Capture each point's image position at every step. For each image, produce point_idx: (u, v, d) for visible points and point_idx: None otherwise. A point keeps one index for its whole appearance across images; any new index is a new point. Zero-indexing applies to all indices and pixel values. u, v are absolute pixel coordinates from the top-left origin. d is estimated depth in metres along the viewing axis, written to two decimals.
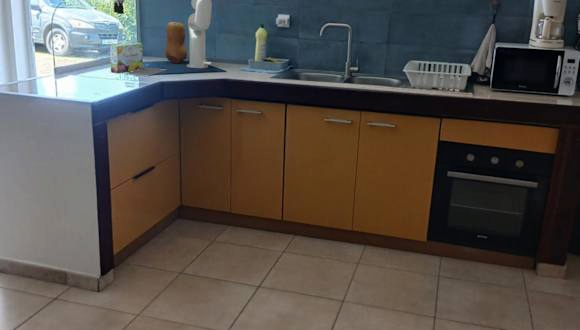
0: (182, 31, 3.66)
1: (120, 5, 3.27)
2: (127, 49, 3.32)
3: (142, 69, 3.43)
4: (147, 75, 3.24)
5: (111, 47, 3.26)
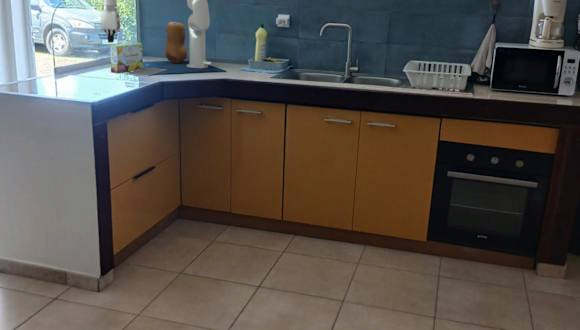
0: (182, 31, 3.66)
1: (113, 35, 3.35)
2: (127, 49, 3.32)
3: (142, 69, 3.43)
4: (147, 75, 3.24)
5: (111, 47, 3.26)
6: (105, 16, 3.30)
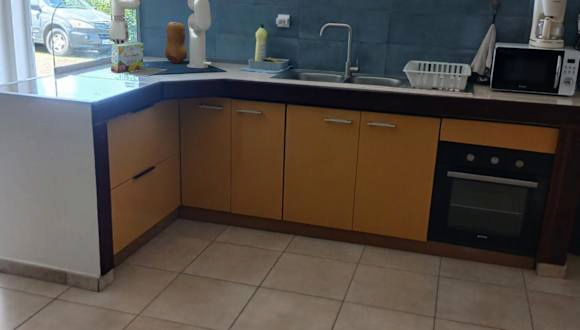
0: (182, 31, 3.66)
1: None
2: (128, 49, 3.32)
3: (142, 69, 3.43)
4: (147, 75, 3.24)
5: (113, 47, 3.26)
6: (113, 26, 3.31)
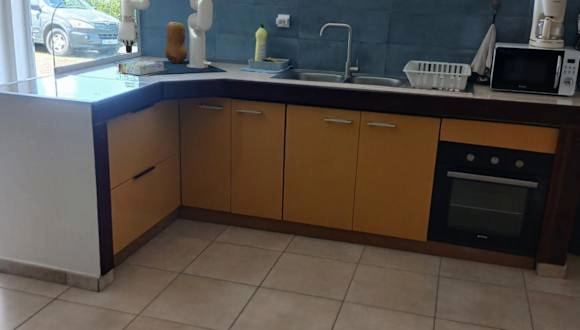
0: (182, 31, 3.66)
1: (131, 45, 3.34)
2: None
3: None
4: (147, 75, 3.24)
5: (138, 67, 3.22)
6: (123, 27, 3.29)
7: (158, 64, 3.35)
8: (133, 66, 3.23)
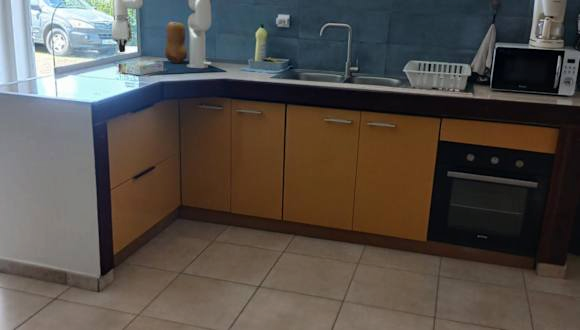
0: (182, 31, 3.66)
1: (124, 45, 3.35)
2: None
3: None
4: (147, 75, 3.24)
5: (138, 67, 3.22)
6: (116, 26, 3.30)
7: (158, 64, 3.35)
8: (133, 66, 3.23)
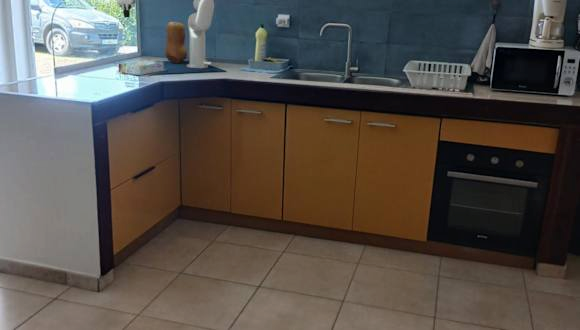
0: (182, 31, 3.66)
1: (128, 10, 3.33)
2: None
3: None
4: (147, 75, 3.24)
5: (138, 67, 3.22)
6: None
7: (158, 64, 3.35)
8: (133, 66, 3.23)
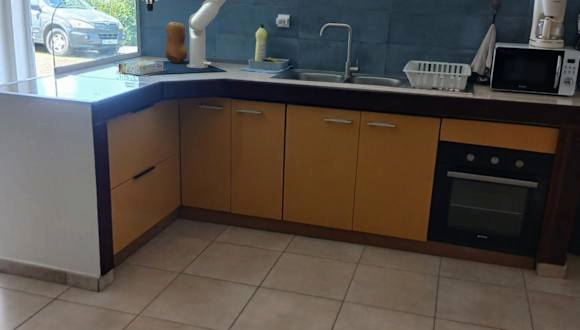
0: (182, 31, 3.66)
1: (152, 4, 3.45)
2: None
3: None
4: (147, 75, 3.24)
5: (138, 67, 3.22)
6: None
7: (158, 64, 3.35)
8: (133, 66, 3.23)
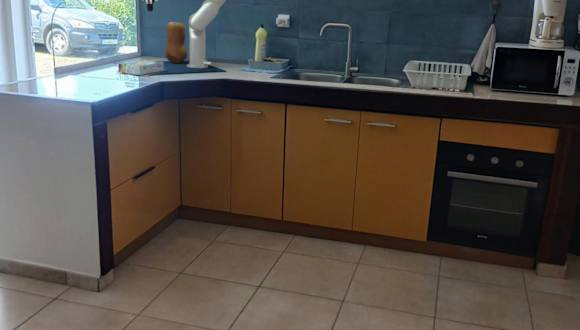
0: (182, 31, 3.66)
1: (152, 4, 3.45)
2: None
3: None
4: (147, 75, 3.24)
5: (138, 67, 3.22)
6: None
7: (158, 64, 3.35)
8: (133, 66, 3.23)
